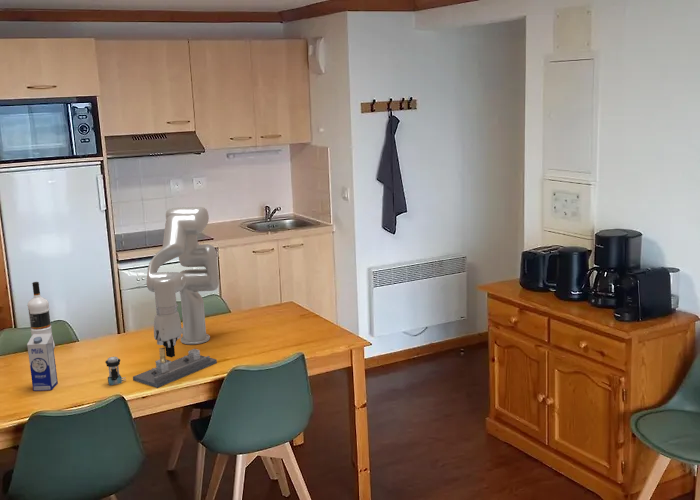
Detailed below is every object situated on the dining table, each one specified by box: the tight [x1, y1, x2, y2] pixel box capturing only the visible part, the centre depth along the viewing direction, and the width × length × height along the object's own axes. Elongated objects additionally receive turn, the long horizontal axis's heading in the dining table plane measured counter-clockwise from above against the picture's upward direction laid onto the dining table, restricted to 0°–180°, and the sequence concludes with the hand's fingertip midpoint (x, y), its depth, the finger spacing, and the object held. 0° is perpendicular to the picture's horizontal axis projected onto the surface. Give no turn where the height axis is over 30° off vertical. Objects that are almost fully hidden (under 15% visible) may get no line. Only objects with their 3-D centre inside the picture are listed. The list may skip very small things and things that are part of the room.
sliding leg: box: [151, 347, 172, 376], centre depth 283 cm, size 9×3×11 cm, turn 54°
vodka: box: [26, 281, 56, 349], centre depth 319 cm, size 9×9×30 cm
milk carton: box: [26, 333, 59, 392], centre depth 278 cm, size 7×7×20 cm
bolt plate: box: [132, 348, 218, 389], centre depth 291 cm, size 14×30×6 cm, turn 144°
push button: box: [104, 356, 127, 386], centre depth 281 cm, size 7×5×10 cm
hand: (170, 356), depth 285 cm, fingers closed
